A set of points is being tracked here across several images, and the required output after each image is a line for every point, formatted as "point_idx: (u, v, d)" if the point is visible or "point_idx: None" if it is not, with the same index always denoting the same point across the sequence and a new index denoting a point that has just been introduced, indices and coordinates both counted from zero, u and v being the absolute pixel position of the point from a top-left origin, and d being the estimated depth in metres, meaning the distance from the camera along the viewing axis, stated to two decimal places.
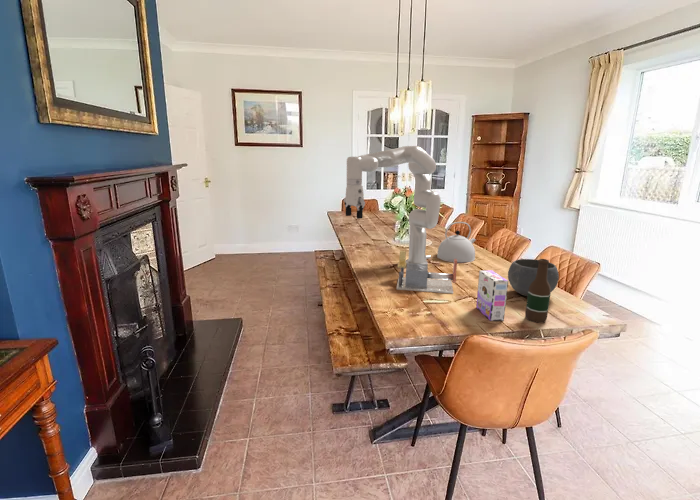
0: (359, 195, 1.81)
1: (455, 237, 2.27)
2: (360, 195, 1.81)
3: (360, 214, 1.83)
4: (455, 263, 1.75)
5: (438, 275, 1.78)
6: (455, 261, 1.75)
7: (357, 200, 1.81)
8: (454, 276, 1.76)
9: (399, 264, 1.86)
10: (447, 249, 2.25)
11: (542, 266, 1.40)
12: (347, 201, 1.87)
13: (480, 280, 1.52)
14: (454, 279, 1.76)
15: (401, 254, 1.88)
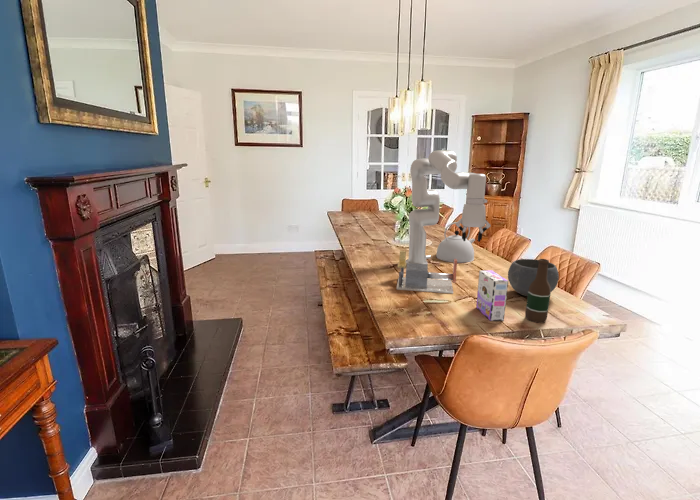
0: None
1: (454, 237, 2.27)
2: None
3: (481, 237, 1.71)
4: (455, 263, 1.75)
5: (438, 275, 1.78)
6: (455, 261, 1.75)
7: (485, 220, 1.68)
8: (454, 276, 1.76)
9: (399, 264, 1.86)
10: (446, 249, 2.25)
11: (542, 266, 1.40)
12: (467, 223, 1.69)
13: (480, 280, 1.52)
14: (454, 279, 1.76)
15: (401, 254, 1.88)
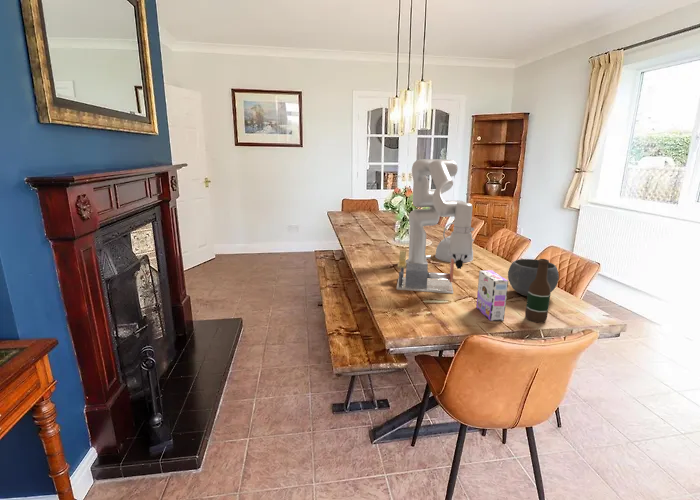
0: None
1: None
2: None
3: None
4: (452, 263, 1.75)
5: (435, 275, 1.79)
6: (452, 261, 1.75)
7: (471, 248, 1.72)
8: (451, 276, 1.76)
9: (399, 264, 1.86)
10: (445, 249, 2.24)
11: (542, 266, 1.40)
12: (455, 250, 1.73)
13: (480, 280, 1.52)
14: (451, 279, 1.76)
15: (401, 254, 1.88)
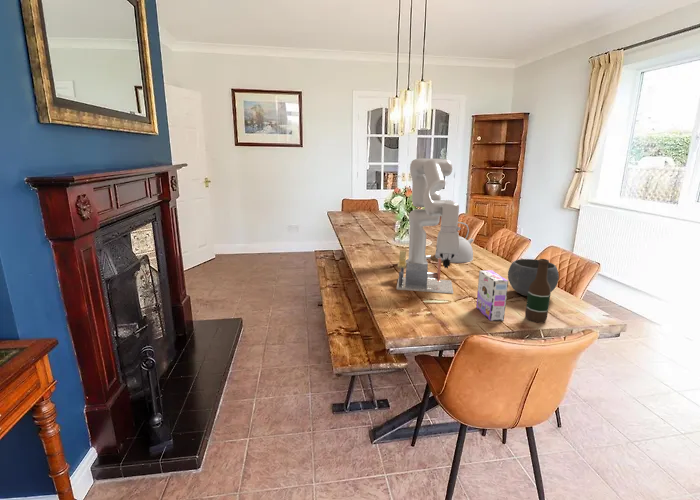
0: None
1: None
2: None
3: (449, 263, 1.77)
4: (439, 262, 1.77)
5: None
6: (439, 260, 1.76)
7: (458, 247, 1.73)
8: (438, 275, 1.77)
9: (399, 264, 1.86)
10: None
11: (542, 266, 1.40)
12: (441, 249, 1.74)
13: (480, 280, 1.52)
14: (438, 278, 1.77)
15: (401, 254, 1.88)
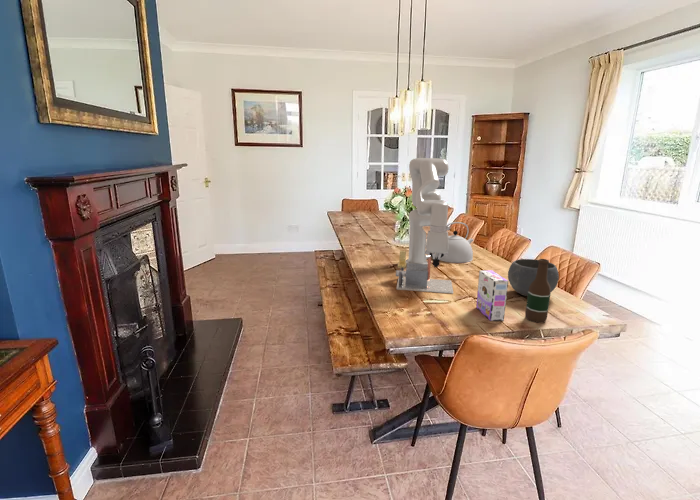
0: None
1: (453, 237, 2.27)
2: None
3: None
4: (429, 261, 1.77)
5: None
6: (429, 259, 1.77)
7: None
8: (428, 274, 1.78)
9: (399, 264, 1.86)
10: None
11: (542, 266, 1.40)
12: (431, 249, 1.75)
13: (480, 280, 1.52)
14: (428, 277, 1.78)
15: (401, 254, 1.88)
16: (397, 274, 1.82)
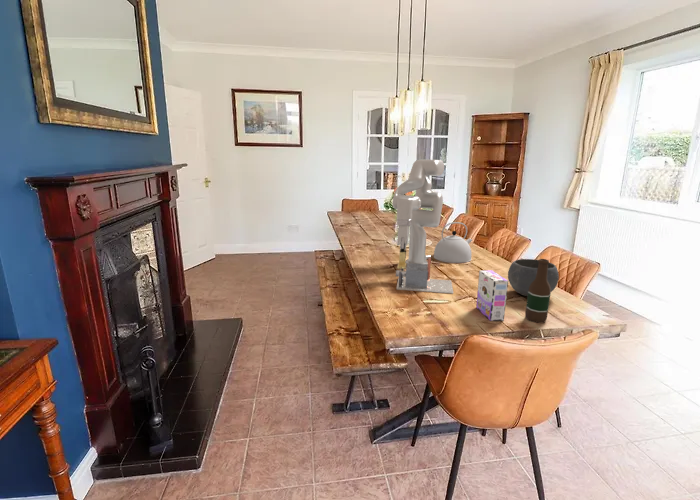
0: None
1: (451, 237, 2.26)
2: None
3: None
4: (429, 261, 1.77)
5: None
6: (429, 259, 1.77)
7: None
8: (428, 274, 1.78)
9: (399, 265, 1.85)
10: (443, 249, 2.24)
11: (542, 266, 1.40)
12: (407, 242, 1.85)
13: (480, 280, 1.52)
14: (428, 277, 1.78)
15: (401, 255, 1.86)
16: (397, 274, 1.82)
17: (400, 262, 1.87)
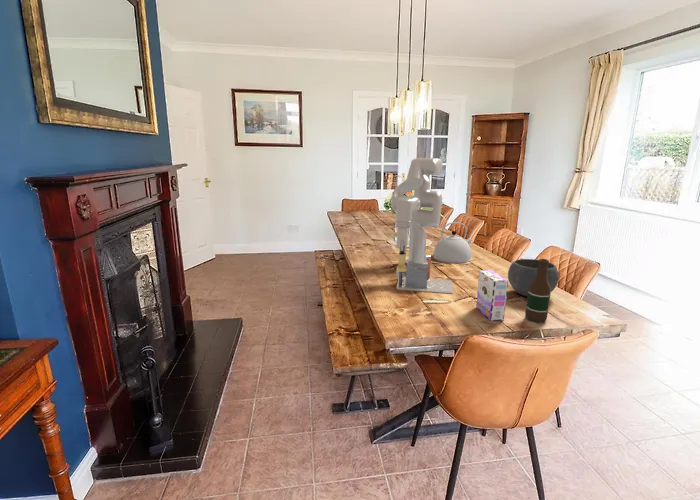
0: None
1: (451, 237, 2.26)
2: None
3: None
4: (429, 261, 1.77)
5: None
6: (429, 259, 1.77)
7: None
8: (428, 274, 1.78)
9: (398, 268, 1.80)
10: (443, 249, 2.24)
11: (542, 266, 1.40)
12: None
13: (480, 280, 1.52)
14: (428, 277, 1.78)
15: (400, 257, 1.82)
16: (397, 274, 1.82)
17: (399, 265, 1.83)
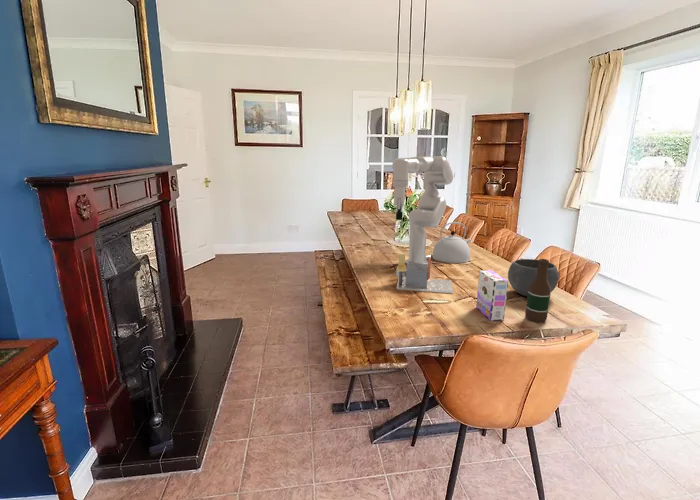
0: None
1: (450, 237, 2.26)
2: None
3: None
4: (429, 261, 1.77)
5: None
6: (429, 259, 1.77)
7: None
8: (428, 274, 1.78)
9: (398, 267, 1.81)
10: (442, 249, 2.24)
11: (542, 266, 1.40)
12: (403, 203, 1.89)
13: (480, 280, 1.52)
14: (428, 277, 1.78)
15: (400, 257, 1.82)
16: (397, 274, 1.82)
17: (399, 264, 1.83)
